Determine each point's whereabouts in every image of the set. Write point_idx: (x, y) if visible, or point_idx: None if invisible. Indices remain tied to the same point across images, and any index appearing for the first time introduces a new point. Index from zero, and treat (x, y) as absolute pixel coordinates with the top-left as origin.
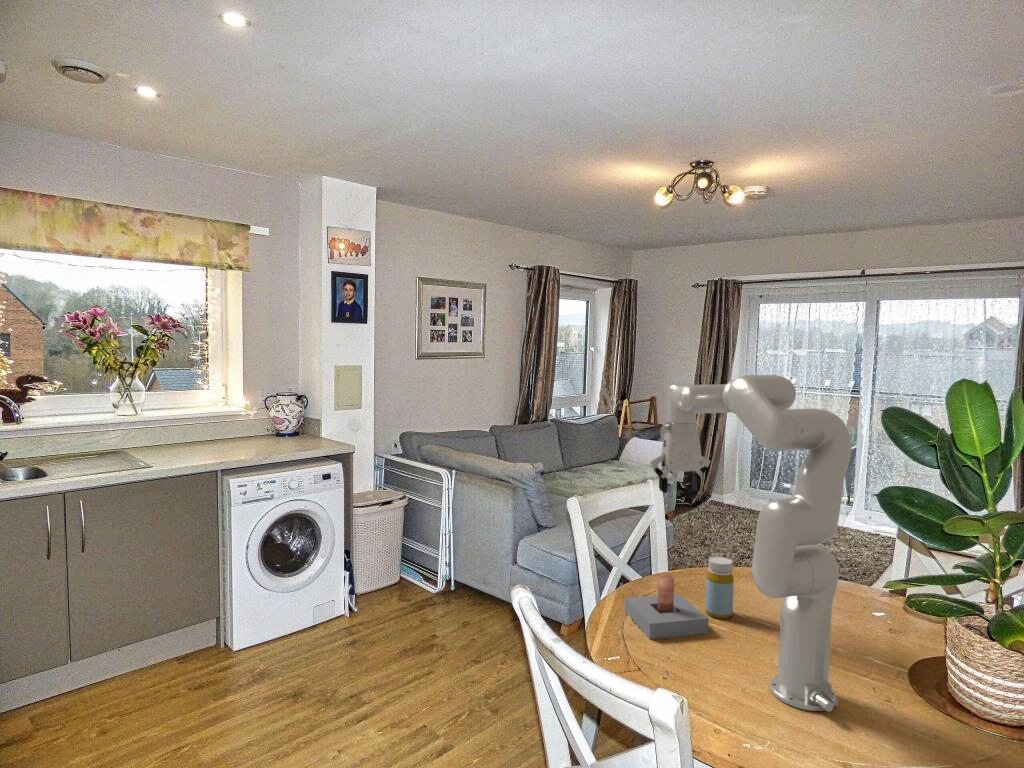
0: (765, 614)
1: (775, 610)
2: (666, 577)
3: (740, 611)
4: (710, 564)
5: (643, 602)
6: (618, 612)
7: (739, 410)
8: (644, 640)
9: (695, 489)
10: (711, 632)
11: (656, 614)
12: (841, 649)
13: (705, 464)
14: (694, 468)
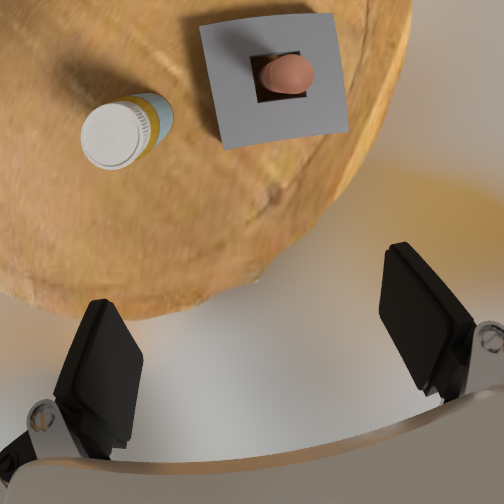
0: (66, 129)
1: (47, 149)
2: (290, 78)
3: None
4: (144, 123)
5: (317, 106)
6: None
7: None
8: None
9: (121, 325)
10: (192, 38)
11: (307, 47)
12: (14, 26)
13: (4, 498)
14: (81, 493)
